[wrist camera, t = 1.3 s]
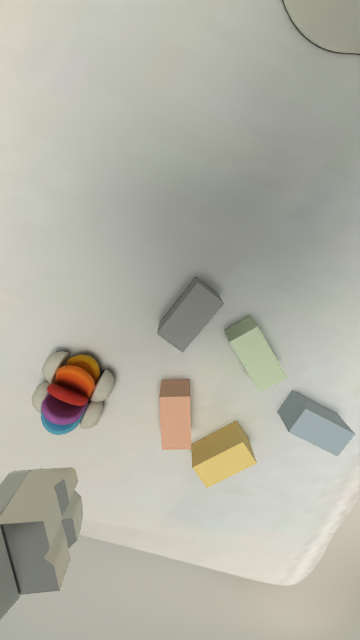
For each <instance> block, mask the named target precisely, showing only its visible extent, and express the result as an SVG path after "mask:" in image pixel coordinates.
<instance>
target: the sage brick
mask: <svg viewBox="0 0 360 640" xmlns="http://www.w3.org/2000/svg"><path fill="white" fill-rule="evenodd" d="M224 331H225V333H226V336H227V338H228V340H229V342H230V344H231V346H232V347H233V349H234V351H235V352H236V354H237V356H238V357H239V359H240V361H241V362H242V364H243V366H244V367H245V369H246V371H247V372H248V374H249V376H250V377H251V379H252V381H253V382H254V384H255V386H256V387H257V389H258V391H259V392H261V391H263V390H265V389H267V388H268V387H270V386H272V385H274V384H276V383H278V382H280V381H282V380H284V379H286V378H287V376H286V374H285V373H284V371H283V369H282V367H281V366H280V364H279V362H278V360H277V359H276V357H275V355H274V353H273V351H272V350H271V348H270V346H269V344H268V343H267V341H266V339H265V337H264V336H263V334H262V332H261V330H260V329H259V327H258V325H257V324H256V323H255V322H254V321H253V319H252V318H251V317H250V316H248V317H247V318H245V319H243V320H241V321H240V322H238V323H236V324H234V325H233V326H231V327H229V328H227V329H226V330H224Z"/></svg>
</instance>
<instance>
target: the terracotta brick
mask: <svg viewBox="0 0 360 640" xmlns="http://www.w3.org/2000/svg"><path fill="white" fill-rule="evenodd" d="M159 399H160V419H161V438H162V450H169V449H191V415H190V384H189V379H179V380H162V383H161V389H160V396H159Z"/></svg>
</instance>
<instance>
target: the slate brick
mask: <svg viewBox="0 0 360 640" xmlns="http://www.w3.org/2000/svg"><path fill="white" fill-rule="evenodd" d="M277 412H278V413H279V415H280V417H281V419H282V421H283V422H284V424H285V426H286V428H287V430H288V432H290V433H292V434H294V435H296V436H298V437H300V438H302V439H304V440H306V441H308V442H310V443H312V444H314V445H316V446H318V447H320V448H322V449H324V450H326V451H328V452H330V453H332V454H334V455H336V456H338V455H339V454H340V453H341V451H342V450H343V449H344V448H345V446H346V445H347V444H348V443H349V441H350V440H351V439H352V438H353V436H354V435H355V433H354V432H353V431H352V430H351V429H350V428H349V427H348V425H347V424H346V423H345V422H344V421H343V420H342V419H341V417H340V416H339V415H338V414H337V413H335V412H333V411H331V410H329V409H327V408H326V407H324V406H322V405H320V404H318V403H316V402H314V401H312V400H310V399H308V398H306V397H304V396H302V395H301V394H299V393H297V392H295V391H293V390H292V392H291V393H290V394H289V396H288V397H287V399H286V400H285V402H284V403H283V404H282V406H281V407H280V409H279V410H278V411H277Z"/></svg>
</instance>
